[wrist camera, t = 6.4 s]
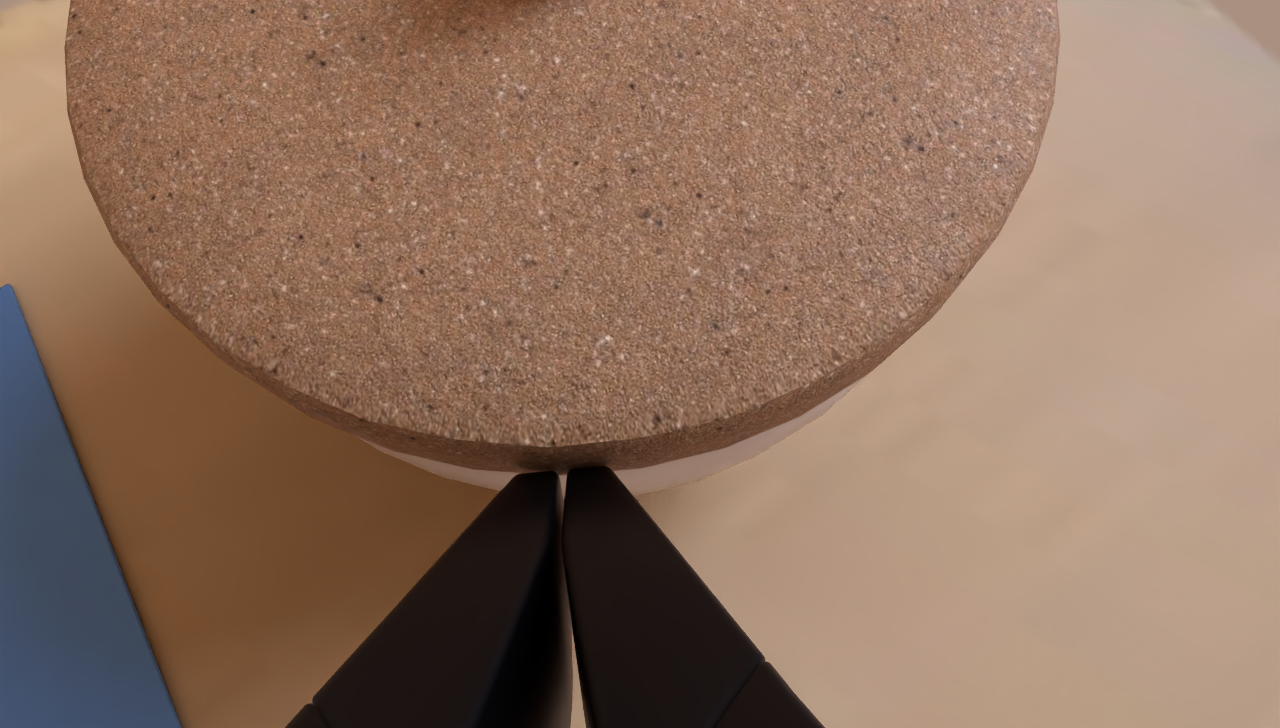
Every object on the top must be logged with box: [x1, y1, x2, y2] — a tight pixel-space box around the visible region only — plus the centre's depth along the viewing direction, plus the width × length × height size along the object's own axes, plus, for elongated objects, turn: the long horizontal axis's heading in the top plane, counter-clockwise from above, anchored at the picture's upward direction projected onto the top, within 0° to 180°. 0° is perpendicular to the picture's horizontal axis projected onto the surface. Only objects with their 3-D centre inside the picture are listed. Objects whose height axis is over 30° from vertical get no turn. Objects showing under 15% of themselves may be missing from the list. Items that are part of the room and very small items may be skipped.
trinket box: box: [65, 0, 1060, 499], centre depth 12 cm, size 11×11×9 cm
